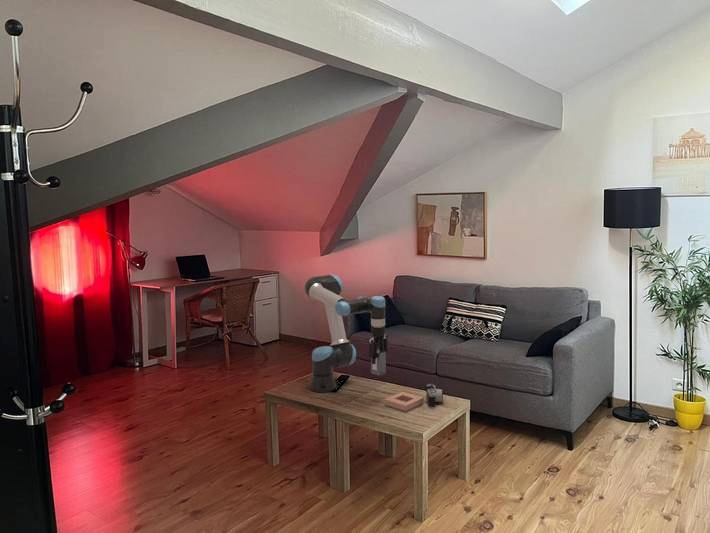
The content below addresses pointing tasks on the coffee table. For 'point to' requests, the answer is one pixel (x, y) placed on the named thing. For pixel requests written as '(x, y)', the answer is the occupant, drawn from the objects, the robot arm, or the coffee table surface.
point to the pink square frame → (404, 401)
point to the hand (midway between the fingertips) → (378, 368)
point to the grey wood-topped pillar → (380, 363)
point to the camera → (433, 395)
